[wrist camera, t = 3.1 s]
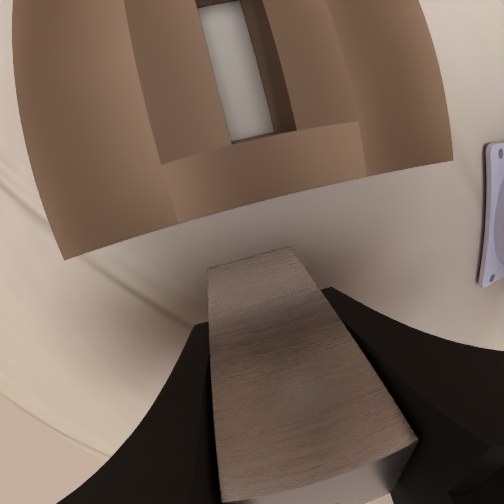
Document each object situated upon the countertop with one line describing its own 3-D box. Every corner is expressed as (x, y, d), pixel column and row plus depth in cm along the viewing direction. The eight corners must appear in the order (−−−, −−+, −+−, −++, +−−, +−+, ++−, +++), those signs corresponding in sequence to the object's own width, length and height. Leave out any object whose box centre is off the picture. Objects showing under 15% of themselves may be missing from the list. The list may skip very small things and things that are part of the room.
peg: (289, 246, 10) (418, 440, 3) (301, 313, 12) (390, 492, 4) (207, 269, 10) (222, 502, 3) (229, 333, 12) (263, 532, 4)
